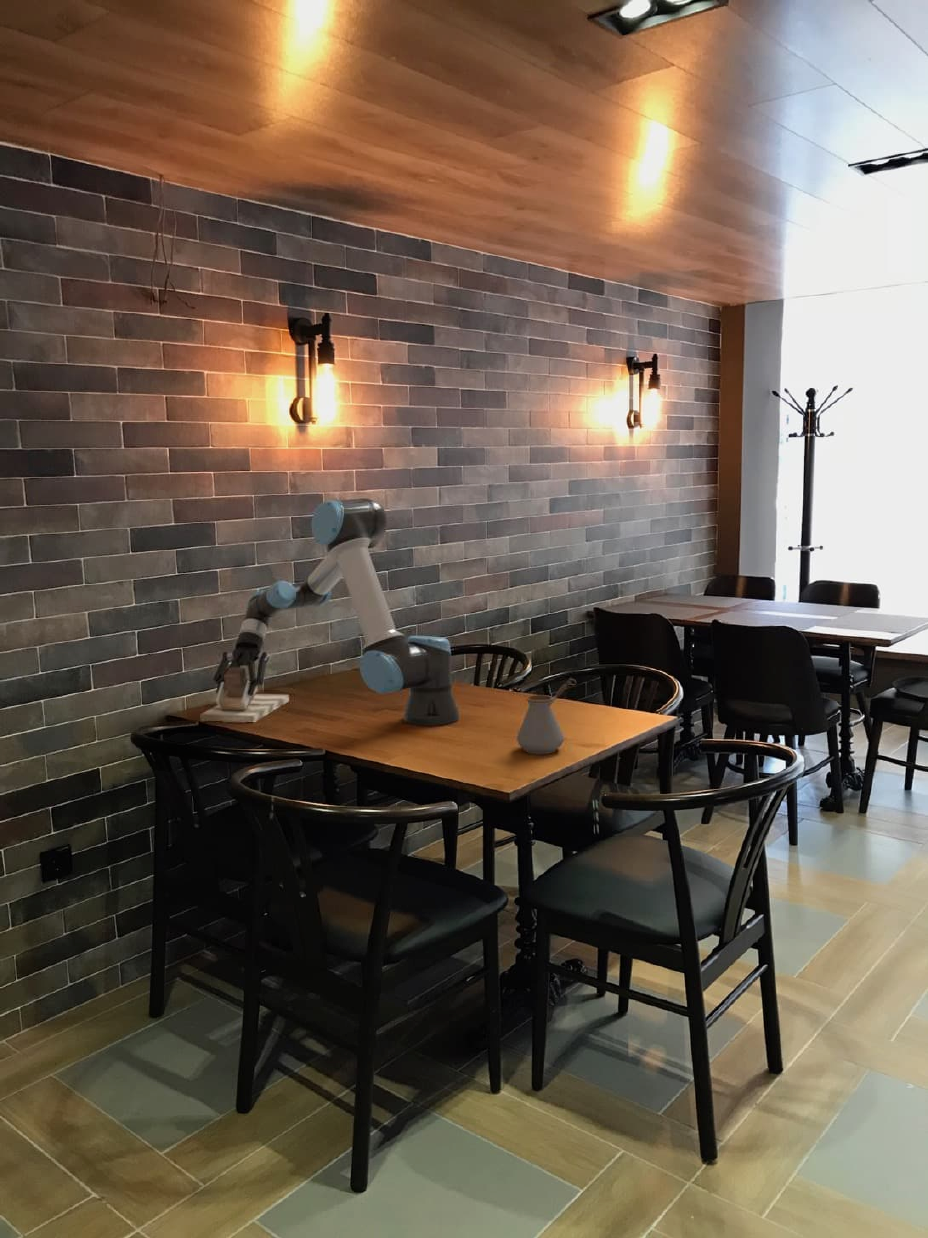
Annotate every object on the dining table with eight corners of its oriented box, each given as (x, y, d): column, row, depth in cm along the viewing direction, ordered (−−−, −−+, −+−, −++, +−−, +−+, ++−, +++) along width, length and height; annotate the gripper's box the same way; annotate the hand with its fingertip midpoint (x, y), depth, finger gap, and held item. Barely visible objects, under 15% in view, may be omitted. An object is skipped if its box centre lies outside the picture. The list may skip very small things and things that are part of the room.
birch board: (240, 700, 300) (239, 693, 300) (289, 701, 297) (288, 694, 296) (200, 721, 275) (200, 714, 275) (253, 722, 272) (253, 715, 271)
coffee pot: (547, 759, 228) (546, 696, 226) (507, 752, 235) (506, 691, 233) (593, 738, 245) (593, 679, 243) (554, 732, 252) (553, 675, 250)
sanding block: (235, 690, 288) (229, 662, 283) (258, 690, 286) (252, 662, 282) (221, 710, 278) (215, 681, 274) (245, 710, 277) (239, 682, 273)
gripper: (287, 645, 290) (268, 711, 277) (224, 645, 294) (203, 710, 281) (278, 630, 284) (259, 697, 271) (215, 630, 288) (193, 696, 275)
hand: (231, 704), depth 276 cm, fingers closed on sanding block, 7 cm apart
